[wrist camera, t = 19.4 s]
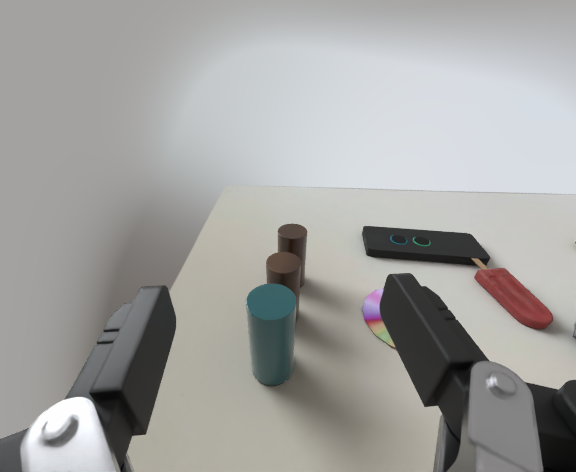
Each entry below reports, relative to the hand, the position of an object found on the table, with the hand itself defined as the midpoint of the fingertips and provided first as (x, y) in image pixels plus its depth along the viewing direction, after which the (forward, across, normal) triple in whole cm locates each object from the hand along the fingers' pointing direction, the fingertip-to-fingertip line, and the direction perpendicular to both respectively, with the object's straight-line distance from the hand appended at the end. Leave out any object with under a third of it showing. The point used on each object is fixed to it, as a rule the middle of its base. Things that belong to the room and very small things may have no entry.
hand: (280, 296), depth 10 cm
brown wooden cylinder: (+18, -2, +21) cm, 28 cm away
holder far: (+24, -4, +21) cm, 33 cm away
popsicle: (+20, -34, +21) cm, 45 cm away
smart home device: (+31, -28, +21) cm, 47 cm away
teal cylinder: (+11, 0, +21) cm, 24 cm away
